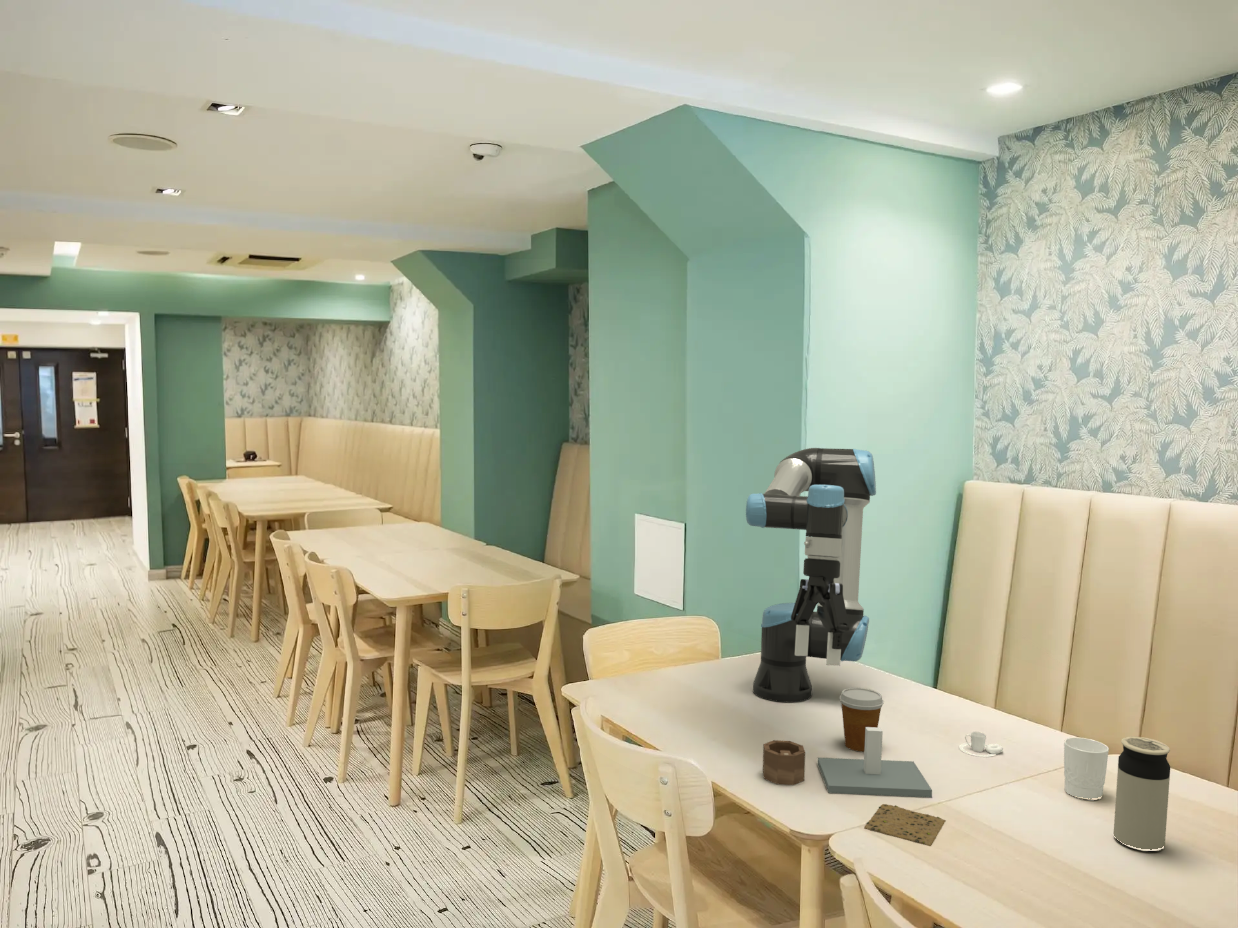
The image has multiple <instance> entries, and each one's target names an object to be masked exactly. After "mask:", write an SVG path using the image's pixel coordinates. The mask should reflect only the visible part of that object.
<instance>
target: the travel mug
mask: <svg viewBox="0 0 1238 928" xmlns="http://www.w3.org/2000/svg"><path fill="white" fill-rule="evenodd" d="M1120 742H1121V745H1122V748H1123V749H1122V750H1123V751H1121V753H1120V754H1119V756H1118V758H1117V761H1118V762H1117V776H1116V789H1115V790H1116V791H1115V807H1114V809H1115V810H1114V822H1113V823H1114V824H1113V834H1114V836H1115V837H1116V839H1118V840H1119V841H1121V842H1122V843H1124V844H1126V845H1130V846H1133V847H1136V848H1141V849H1150V850H1152V849H1158V848H1162V847H1163V846H1164V845H1165V846H1166V834H1167V833H1166V832H1167V820H1168V807H1169V794H1170V793H1169V792H1170V791H1169V790H1170V780H1171V779H1170V778H1171V765H1170V764H1169V761H1168V759H1167V757H1168V754H1169V753H1170V752H1171V748H1170V746H1168V745H1167V744H1165V743H1164V742H1161V741H1159V740H1157V739H1153V738H1149V737H1142V736H1126V737H1123V738H1122V739H1121V740H1120ZM1114 836H1113V837H1114ZM1116 839H1115V840H1116Z"/></svg>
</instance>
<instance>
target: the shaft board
mask: <svg viewBox="0 0 1238 928" xmlns="http://www.w3.org/2000/svg"><path fill="white" fill-rule="evenodd" d="M883 732H884V731H883V729H882V728H881V727H878V728H876V727H865V750H864V752H863V753H864V754H863V758H861V759H860V758H843V757H842V758H839V757H819V756H818V757H817V761H816V762H817V763H816V764H817V767H818V770H819V772H820V776H821V778H822V780H823V782H824V785H825V788H826V790H827V793H828V794H839V795H840V794H841V795H843V794H844V795H867V796H868V795H869V796H887V797H889V796H890V797H891V796H892V797H911V798H913V797H915V798H933V789H932V787H931V786H930V784H929V782H928V781H927V780H926V778H925V777H924V775H923V773H922V772H921V771H920V769H919V767H918V766H917V765H916V763H915V761H914V760H913V761H912V760H910V761H909V760H908V761H907V760H891V759H890V760H889V759H888V760H886V759H882V751H883V750H882V749H883Z"/></svg>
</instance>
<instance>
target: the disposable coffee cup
mask: <svg viewBox="0 0 1238 928" xmlns="http://www.w3.org/2000/svg"><path fill="white" fill-rule="evenodd" d="M839 701H840V703H841V712H842V724H843V725H842V727H843V735H844V736H843V737H844V746H845V747H846V748H847V749H849V750H852V751H855V752H861V753H864V750H865V727H876V728H879V721H880V716H881V712H882V711H881V710H882V707H883V705H884V703H885V701H884V699H883V696H882V693H880V692H878V691H876V690H873V689H870V688H864V687H849V688H845V689H842V692H841V695H839Z"/></svg>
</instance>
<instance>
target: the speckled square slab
mask: <svg viewBox="0 0 1238 928" xmlns="http://www.w3.org/2000/svg"><path fill="white" fill-rule="evenodd" d="M946 822H947V820H945V819H943V818H941V817H940V816H935V815H931V814H926V813H921V812H919V811H913V810H910V809H907V808H904V807H900V806H897V805H891V804H887V803H885V804H884V803H883V804H881V805H880V806H878V809H876V811H875V813H874V814H873V816H872V817H871V818H870V820H868V821H867V822H866V824H865V825H864V826H863V827H864V828H863V829H865V830H868V831H871V832H875V833H879V834H883V835H886V836H890V837H895V838H897V839H900V840H901V839H902V840H904V841H908V842H913V843H915V844H916V843H917V844H921V845H923V846H928V847H932V845H933V844H934V842H935V840H936V839H937V837H938V835H939V834H940V832H941V830H942V828H943V826H944V825H945V823H946Z"/></svg>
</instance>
